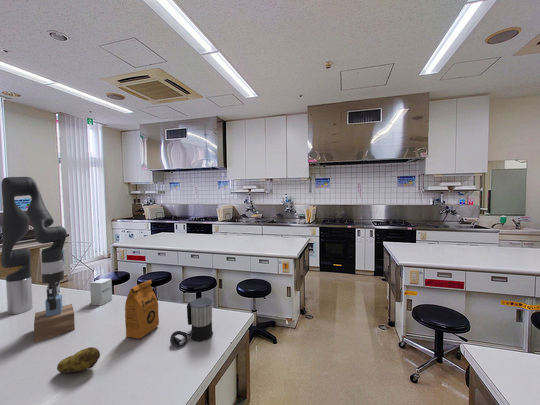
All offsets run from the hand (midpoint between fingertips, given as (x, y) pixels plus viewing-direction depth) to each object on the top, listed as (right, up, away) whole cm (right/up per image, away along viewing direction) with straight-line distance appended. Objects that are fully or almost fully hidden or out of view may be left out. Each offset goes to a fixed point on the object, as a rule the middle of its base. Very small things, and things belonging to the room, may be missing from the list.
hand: (54, 306), depth 108 cm
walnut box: (0, -11, 0) cm, 11 cm away
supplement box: (+2, -10, +28) cm, 30 cm away
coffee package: (+42, -10, -2) cm, 43 cm away
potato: (+33, -11, -26) cm, 43 cm away
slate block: (0, -3, 0) cm, 3 cm away
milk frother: (+66, -10, -8) cm, 67 cm away
